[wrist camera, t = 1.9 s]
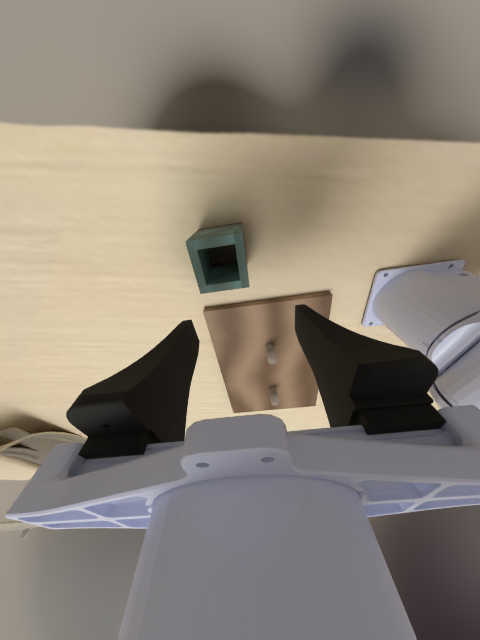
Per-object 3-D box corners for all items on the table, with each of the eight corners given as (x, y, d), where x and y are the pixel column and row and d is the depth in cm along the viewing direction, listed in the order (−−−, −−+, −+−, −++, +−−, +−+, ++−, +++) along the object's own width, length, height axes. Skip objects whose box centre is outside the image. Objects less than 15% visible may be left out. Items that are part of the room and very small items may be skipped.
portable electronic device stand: (32, 411, 38) (-72, 523, 25) (122, 454, 50) (82, 544, 37) (-33, 439, 44) (-144, 539, 31) (60, 470, 56) (8, 552, 43)
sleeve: (241, 222, 19) (242, 232, 14) (246, 265, 21) (249, 287, 16) (199, 229, 19) (185, 242, 14) (209, 270, 22) (200, 293, 17)
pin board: (329, 291, 23) (344, 307, 20) (313, 401, 37) (321, 421, 33) (204, 307, 24) (199, 325, 21) (233, 408, 38) (233, 428, 34)
